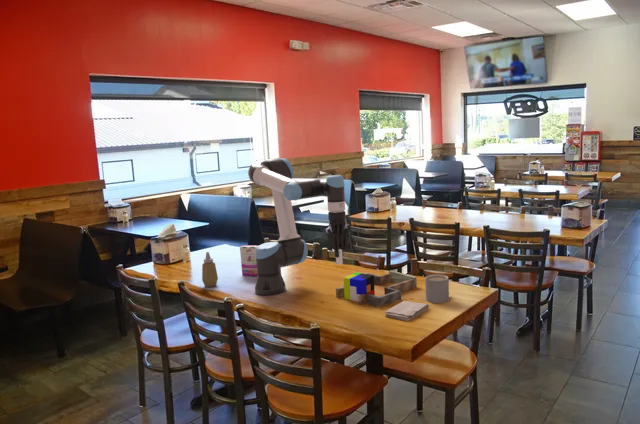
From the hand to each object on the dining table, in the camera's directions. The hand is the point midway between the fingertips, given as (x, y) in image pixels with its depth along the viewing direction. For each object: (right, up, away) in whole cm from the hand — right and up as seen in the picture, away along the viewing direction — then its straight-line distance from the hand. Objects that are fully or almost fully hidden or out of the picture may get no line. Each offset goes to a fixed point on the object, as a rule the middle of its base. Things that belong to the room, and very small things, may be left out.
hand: (339, 263), depth 233 cm
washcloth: (+27, -20, -13) cm, 36 cm away
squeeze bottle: (-65, -16, +41) cm, 79 cm away
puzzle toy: (+10, -17, +9) cm, 21 cm away
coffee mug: (+44, -16, +2) cm, 47 cm away
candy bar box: (-46, -12, +58) cm, 74 cm away
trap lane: (+18, -15, +16) cm, 28 cm away
